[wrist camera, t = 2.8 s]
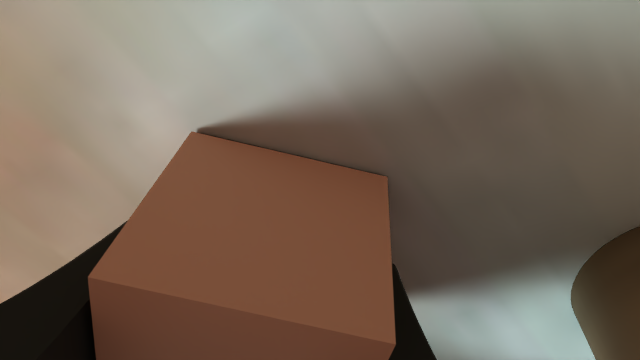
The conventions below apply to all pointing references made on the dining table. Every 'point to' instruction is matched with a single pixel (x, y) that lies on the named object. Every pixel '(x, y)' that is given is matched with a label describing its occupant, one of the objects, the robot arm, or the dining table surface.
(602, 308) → the cylinder
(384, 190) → the cube
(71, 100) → the dining table surface
